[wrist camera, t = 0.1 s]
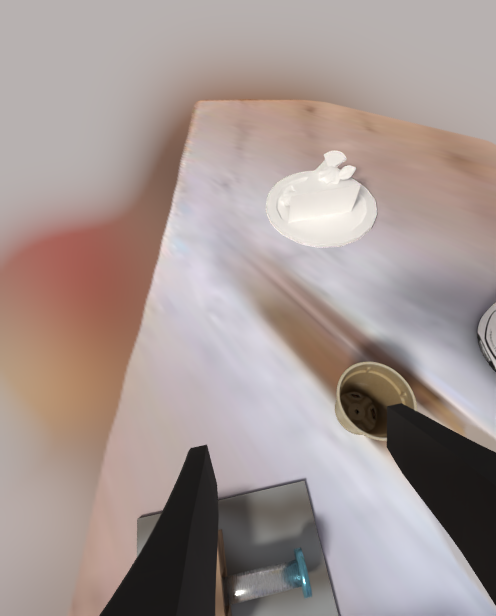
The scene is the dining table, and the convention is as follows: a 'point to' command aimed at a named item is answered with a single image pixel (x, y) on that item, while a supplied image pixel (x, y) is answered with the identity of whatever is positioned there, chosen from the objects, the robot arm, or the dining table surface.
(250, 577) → the pin
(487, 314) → the milk container
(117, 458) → the dining table surface
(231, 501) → the hitch block
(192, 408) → the dining table surface
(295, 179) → the dish
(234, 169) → the dining table surface
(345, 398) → the flower pot
